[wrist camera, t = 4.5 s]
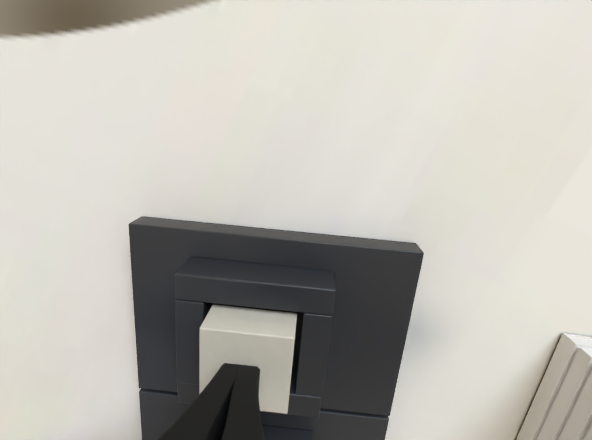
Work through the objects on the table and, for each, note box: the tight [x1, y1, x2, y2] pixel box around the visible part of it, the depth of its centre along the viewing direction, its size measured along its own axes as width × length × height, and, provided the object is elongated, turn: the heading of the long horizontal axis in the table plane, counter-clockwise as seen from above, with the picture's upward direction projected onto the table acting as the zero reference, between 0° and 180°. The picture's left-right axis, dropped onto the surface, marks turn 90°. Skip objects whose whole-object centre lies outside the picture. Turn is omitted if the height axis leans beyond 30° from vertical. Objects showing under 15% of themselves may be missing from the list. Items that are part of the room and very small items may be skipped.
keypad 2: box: [129, 217, 424, 418], centre depth 16 cm, size 13×9×3 cm
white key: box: [199, 304, 297, 414], centre depth 14 cm, size 4×4×2 cm
